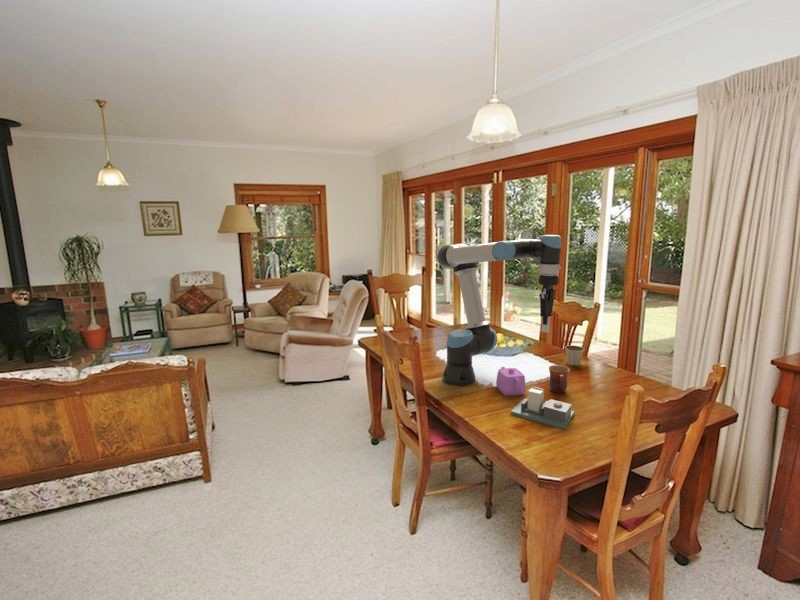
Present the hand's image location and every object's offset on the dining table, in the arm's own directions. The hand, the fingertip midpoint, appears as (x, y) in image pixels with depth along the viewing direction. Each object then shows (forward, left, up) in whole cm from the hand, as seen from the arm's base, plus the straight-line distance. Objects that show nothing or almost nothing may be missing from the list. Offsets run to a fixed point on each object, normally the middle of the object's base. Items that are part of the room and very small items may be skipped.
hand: (545, 331), depth 168 cm
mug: (+4, +11, -30) cm, 32 cm away
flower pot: (0, +51, -30) cm, 59 cm away
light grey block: (+2, -14, -28) cm, 31 cm away
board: (+5, -14, -29) cm, 33 cm away
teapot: (-14, +1, -30) cm, 33 cm away
